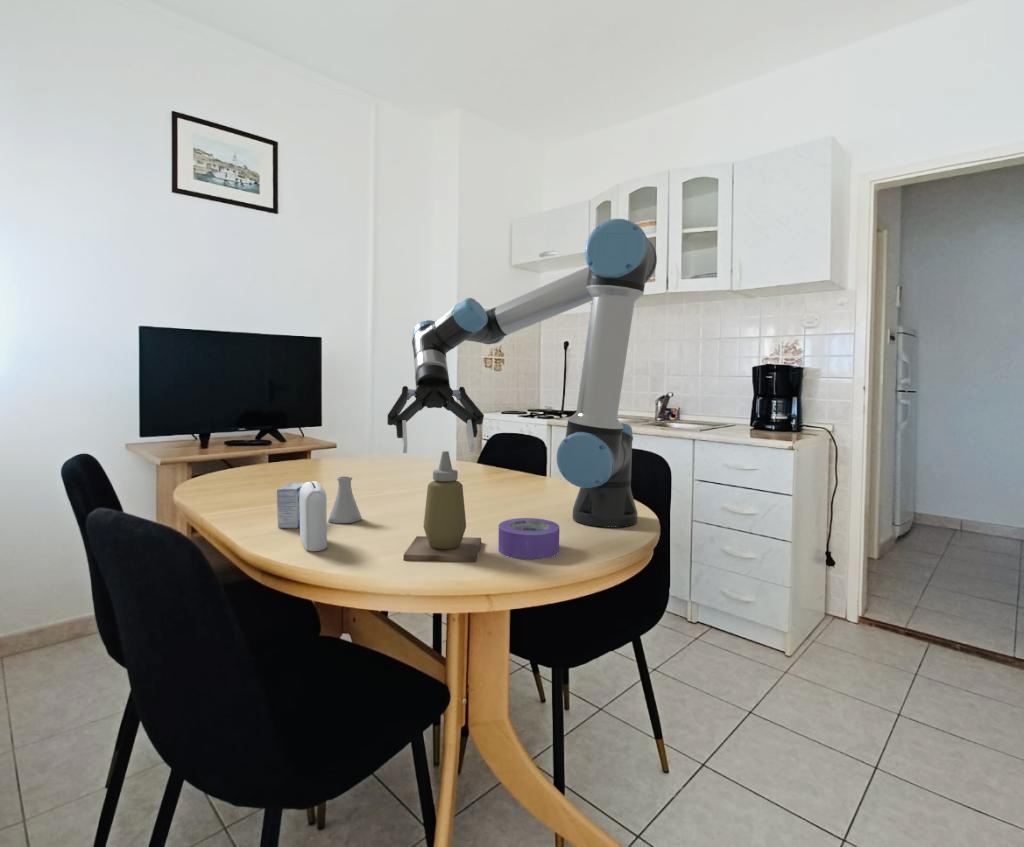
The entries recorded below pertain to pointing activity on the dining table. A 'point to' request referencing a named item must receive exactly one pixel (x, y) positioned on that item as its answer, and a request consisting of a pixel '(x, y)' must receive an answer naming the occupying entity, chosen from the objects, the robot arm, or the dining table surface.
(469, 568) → the dining table surface
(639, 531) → the dining table surface
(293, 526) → the medicine box
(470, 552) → the plate
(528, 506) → the dining table surface
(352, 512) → the flask
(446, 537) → the squeeze bottle
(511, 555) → the tape roll
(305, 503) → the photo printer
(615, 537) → the dining table surface
